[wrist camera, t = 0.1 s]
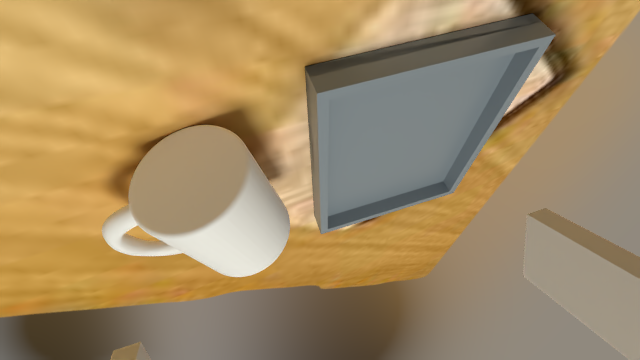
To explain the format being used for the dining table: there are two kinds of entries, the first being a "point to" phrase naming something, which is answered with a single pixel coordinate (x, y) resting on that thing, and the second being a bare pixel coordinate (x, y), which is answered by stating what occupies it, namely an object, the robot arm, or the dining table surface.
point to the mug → (202, 204)
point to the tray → (411, 116)
